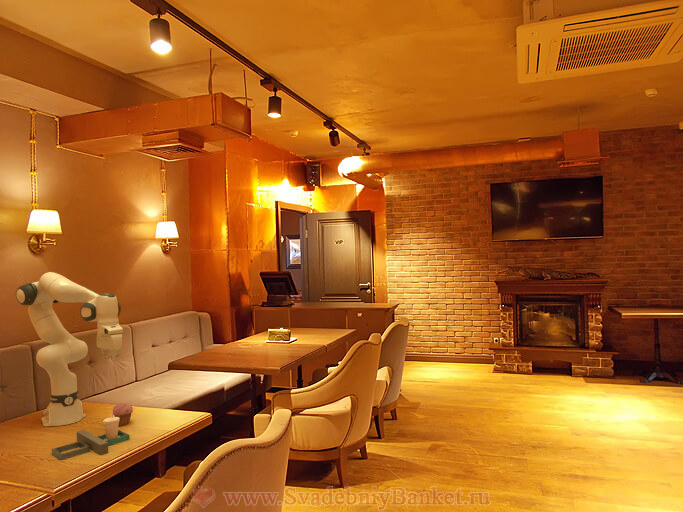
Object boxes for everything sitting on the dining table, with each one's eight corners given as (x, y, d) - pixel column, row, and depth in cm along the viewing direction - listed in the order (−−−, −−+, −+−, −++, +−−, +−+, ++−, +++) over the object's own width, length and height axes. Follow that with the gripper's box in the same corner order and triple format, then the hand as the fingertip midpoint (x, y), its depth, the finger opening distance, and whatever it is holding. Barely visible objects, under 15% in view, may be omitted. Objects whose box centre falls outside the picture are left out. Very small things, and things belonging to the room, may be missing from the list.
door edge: (76, 440, 209) (76, 431, 209) (84, 438, 211) (83, 429, 211) (100, 455, 192) (100, 444, 192) (108, 452, 194) (107, 442, 194)
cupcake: (109, 425, 229) (108, 404, 229) (126, 419, 236) (125, 399, 236) (120, 428, 224) (119, 406, 224) (137, 422, 231) (136, 401, 231)
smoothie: (113, 445, 202) (111, 411, 202) (100, 444, 204) (99, 410, 204) (123, 439, 208) (122, 407, 208) (111, 438, 210) (110, 406, 210)
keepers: (51, 453, 195) (51, 449, 195) (119, 434, 215) (119, 430, 215) (60, 460, 188) (60, 455, 188) (129, 439, 208) (129, 434, 208)
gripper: (92, 328, 225) (93, 357, 224) (110, 330, 211) (111, 362, 211) (106, 326, 229) (107, 355, 229) (124, 329, 215) (125, 360, 215)
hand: (109, 359), depth 220 cm, fingers open, 8 cm apart
